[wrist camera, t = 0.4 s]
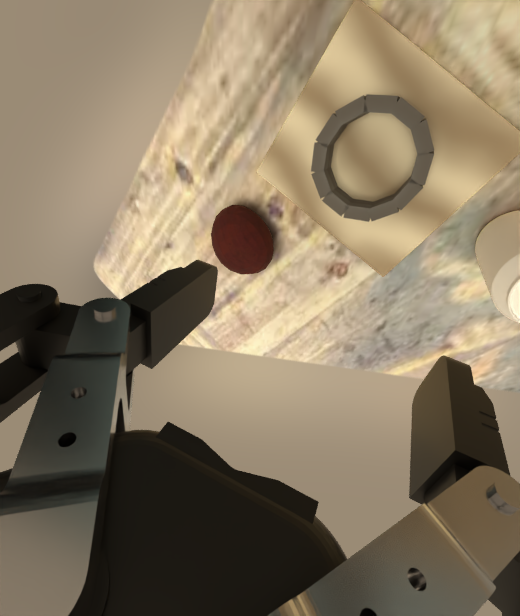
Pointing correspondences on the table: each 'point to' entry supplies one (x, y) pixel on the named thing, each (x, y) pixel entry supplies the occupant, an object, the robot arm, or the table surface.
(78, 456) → the robot arm
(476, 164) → the ring board
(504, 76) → the table surface
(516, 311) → the beverage can
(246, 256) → the potato
